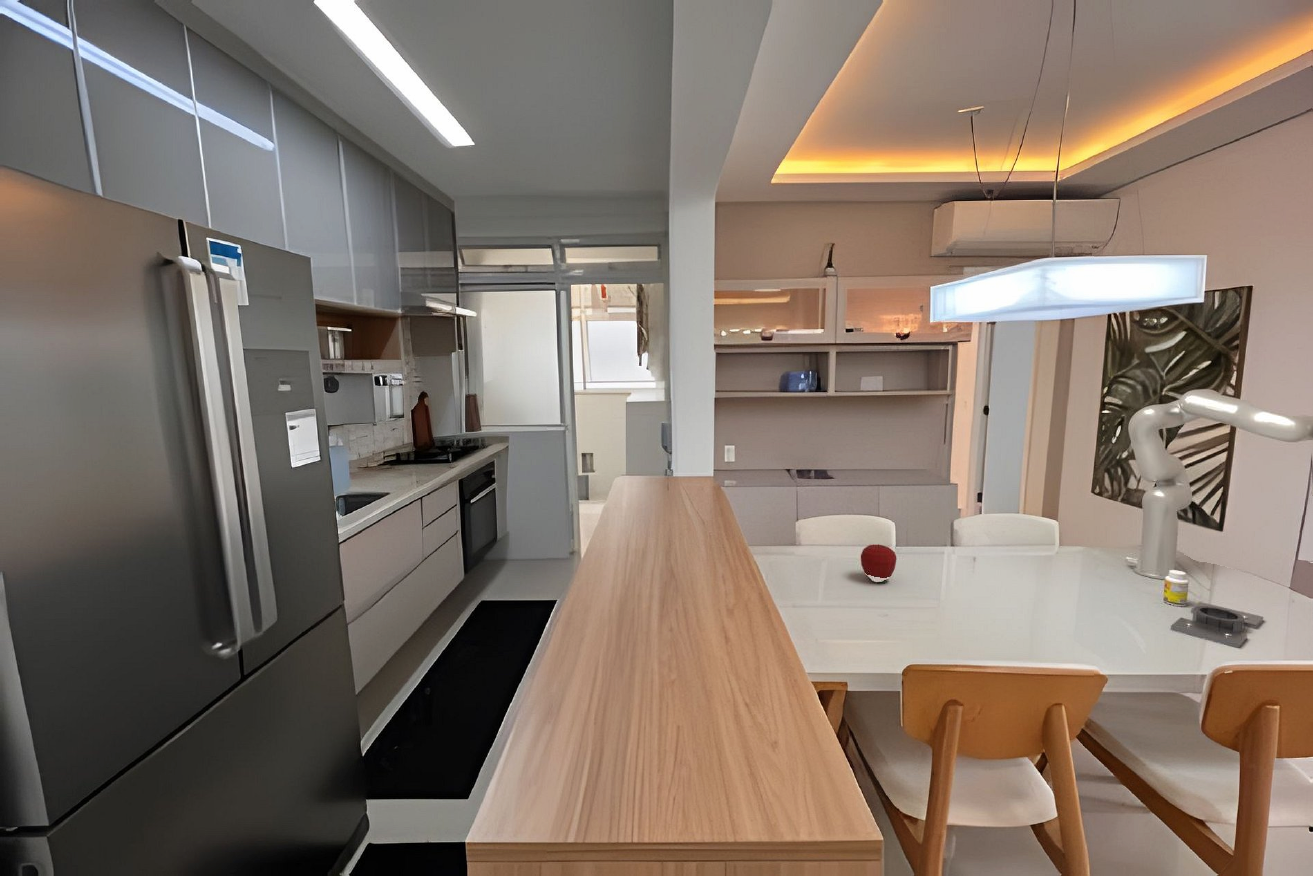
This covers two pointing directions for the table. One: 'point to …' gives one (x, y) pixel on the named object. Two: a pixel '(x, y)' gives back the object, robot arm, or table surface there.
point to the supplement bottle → (1176, 588)
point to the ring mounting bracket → (1218, 624)
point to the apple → (878, 561)
